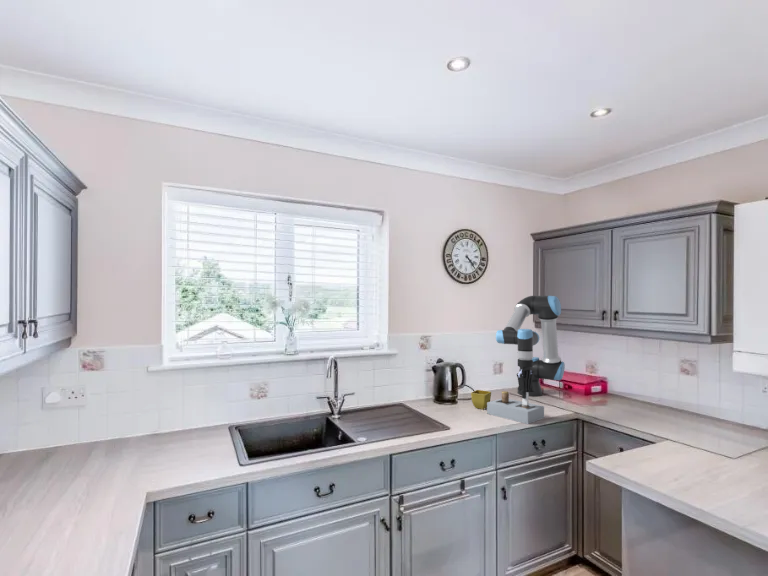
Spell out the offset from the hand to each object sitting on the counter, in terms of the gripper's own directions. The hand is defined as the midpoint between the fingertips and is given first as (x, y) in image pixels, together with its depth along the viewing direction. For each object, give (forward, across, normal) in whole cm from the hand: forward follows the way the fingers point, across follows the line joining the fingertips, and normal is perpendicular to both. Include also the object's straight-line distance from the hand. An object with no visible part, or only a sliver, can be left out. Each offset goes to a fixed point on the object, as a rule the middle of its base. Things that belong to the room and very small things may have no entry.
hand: (525, 404), depth 219 cm
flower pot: (+7, +1, -27) cm, 28 cm away
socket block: (+7, 0, -6) cm, 9 cm away
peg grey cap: (+7, 0, 0) cm, 7 cm away
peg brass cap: (+2, 0, -12) cm, 12 cm away
